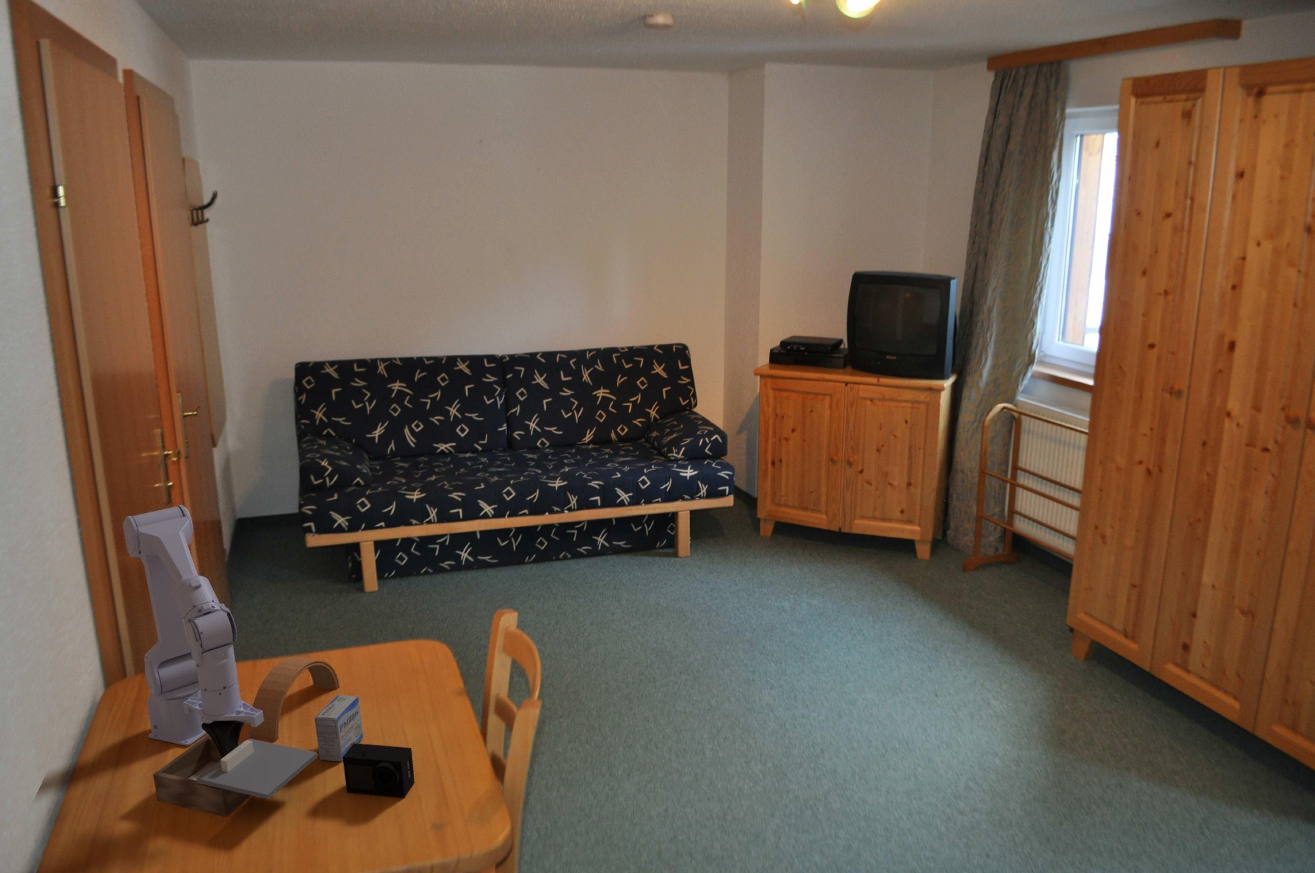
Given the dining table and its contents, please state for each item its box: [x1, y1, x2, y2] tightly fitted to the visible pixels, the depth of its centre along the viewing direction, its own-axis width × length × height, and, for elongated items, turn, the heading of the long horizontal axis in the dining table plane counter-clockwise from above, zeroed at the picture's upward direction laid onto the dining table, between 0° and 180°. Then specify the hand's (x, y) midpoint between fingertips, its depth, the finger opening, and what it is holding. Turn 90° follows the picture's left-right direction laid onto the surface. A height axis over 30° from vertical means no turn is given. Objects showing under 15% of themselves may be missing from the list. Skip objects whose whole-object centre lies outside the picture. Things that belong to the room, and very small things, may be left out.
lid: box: [196, 738, 318, 800], centre depth 159 cm, size 14×12×3 cm
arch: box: [249, 656, 341, 742], centre depth 186 cm, size 6×20×10 cm, turn 163°
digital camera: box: [342, 743, 416, 799], centre depth 162 cm, size 10×5×7 cm, turn 81°
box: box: [152, 734, 252, 818], centre depth 163 cm, size 14×12×5 cm
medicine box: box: [314, 694, 364, 763], centre depth 173 cm, size 8×4×9 cm, turn 168°
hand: (229, 755), depth 161 cm, fingers closed
